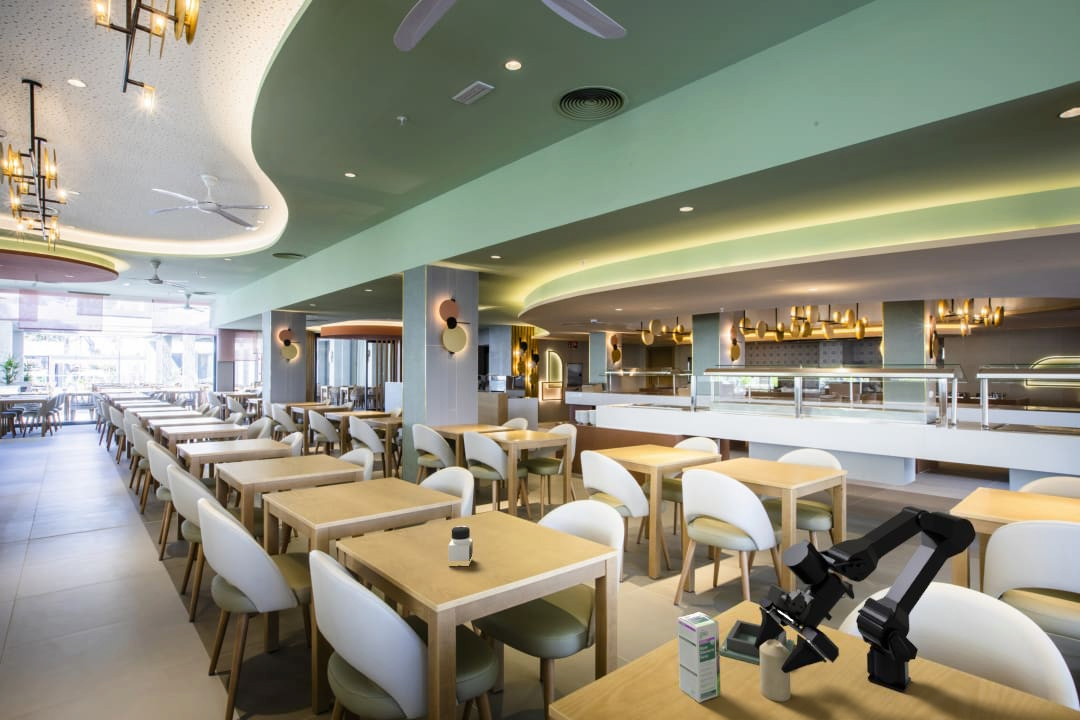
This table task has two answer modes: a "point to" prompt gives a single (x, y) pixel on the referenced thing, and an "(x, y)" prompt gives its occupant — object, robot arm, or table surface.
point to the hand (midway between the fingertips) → (768, 659)
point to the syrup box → (699, 656)
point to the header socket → (748, 642)
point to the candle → (774, 671)
